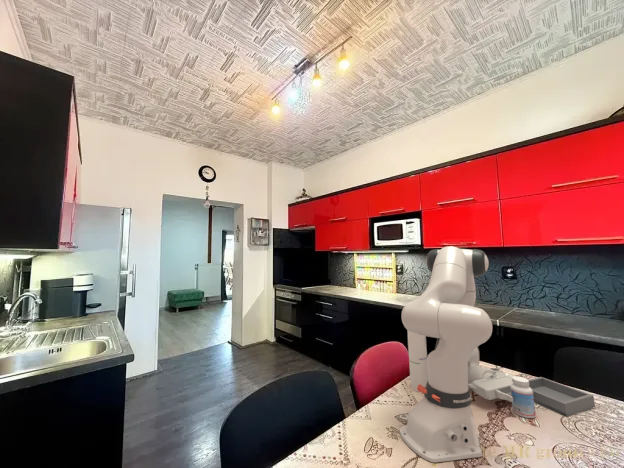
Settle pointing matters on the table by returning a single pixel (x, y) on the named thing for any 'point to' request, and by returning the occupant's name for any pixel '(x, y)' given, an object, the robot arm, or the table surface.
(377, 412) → the table surface
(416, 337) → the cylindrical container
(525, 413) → the pill bottle
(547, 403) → the tray
